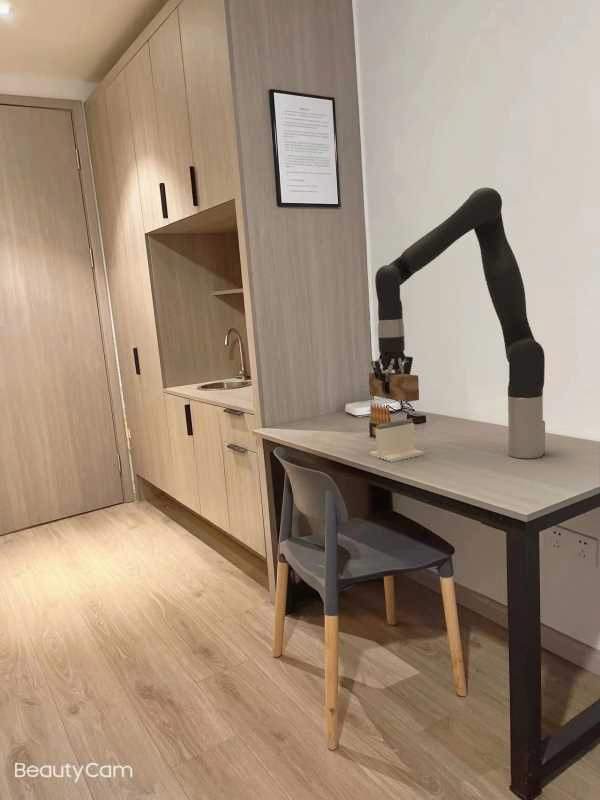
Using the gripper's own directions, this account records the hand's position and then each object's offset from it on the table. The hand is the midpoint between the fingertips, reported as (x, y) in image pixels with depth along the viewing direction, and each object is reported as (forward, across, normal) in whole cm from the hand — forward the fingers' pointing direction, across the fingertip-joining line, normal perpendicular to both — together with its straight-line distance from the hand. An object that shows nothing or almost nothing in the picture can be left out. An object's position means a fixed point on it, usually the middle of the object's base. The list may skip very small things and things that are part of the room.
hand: (393, 392), depth 182 cm
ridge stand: (+19, 0, 0) cm, 19 cm away
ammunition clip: (+19, +9, +20) cm, 29 cm away
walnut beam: (+1, 0, 0) cm, 1 cm away
